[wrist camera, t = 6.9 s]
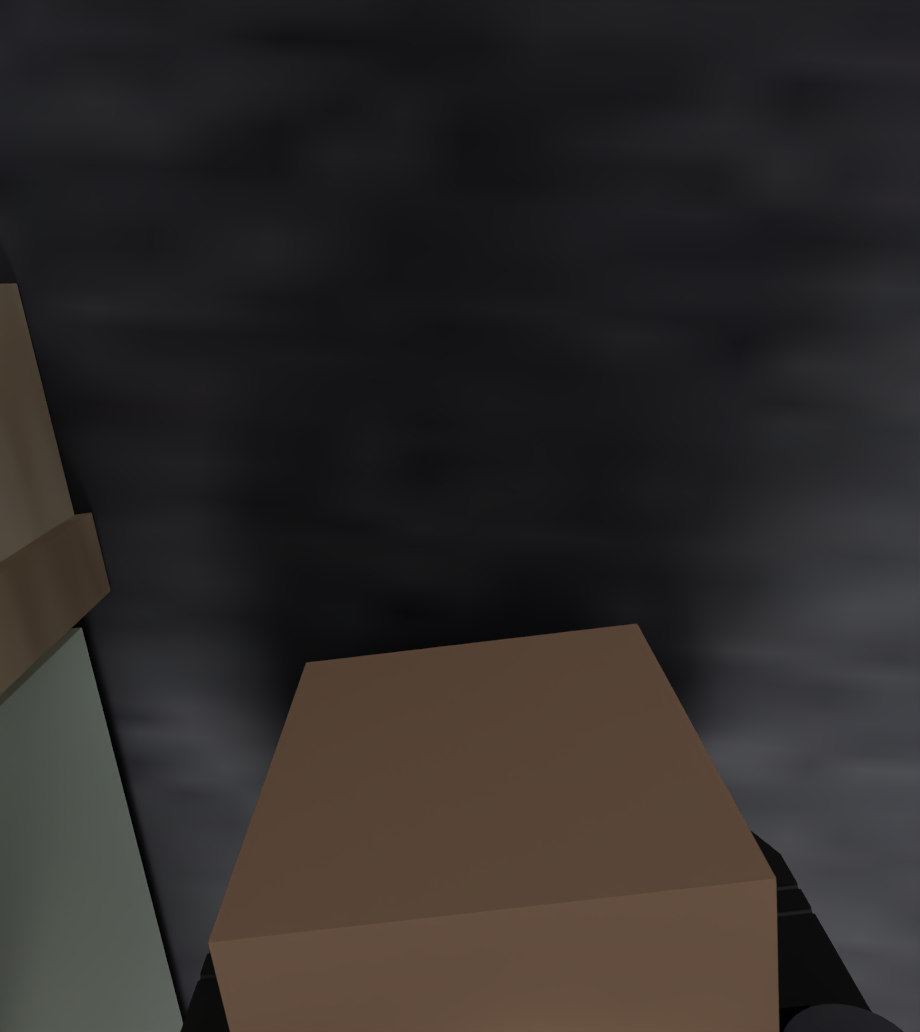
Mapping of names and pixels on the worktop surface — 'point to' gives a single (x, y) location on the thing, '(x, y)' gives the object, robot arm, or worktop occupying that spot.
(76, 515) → the door frame
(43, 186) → the worktop surface
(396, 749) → the rectangular block
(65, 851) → the door
